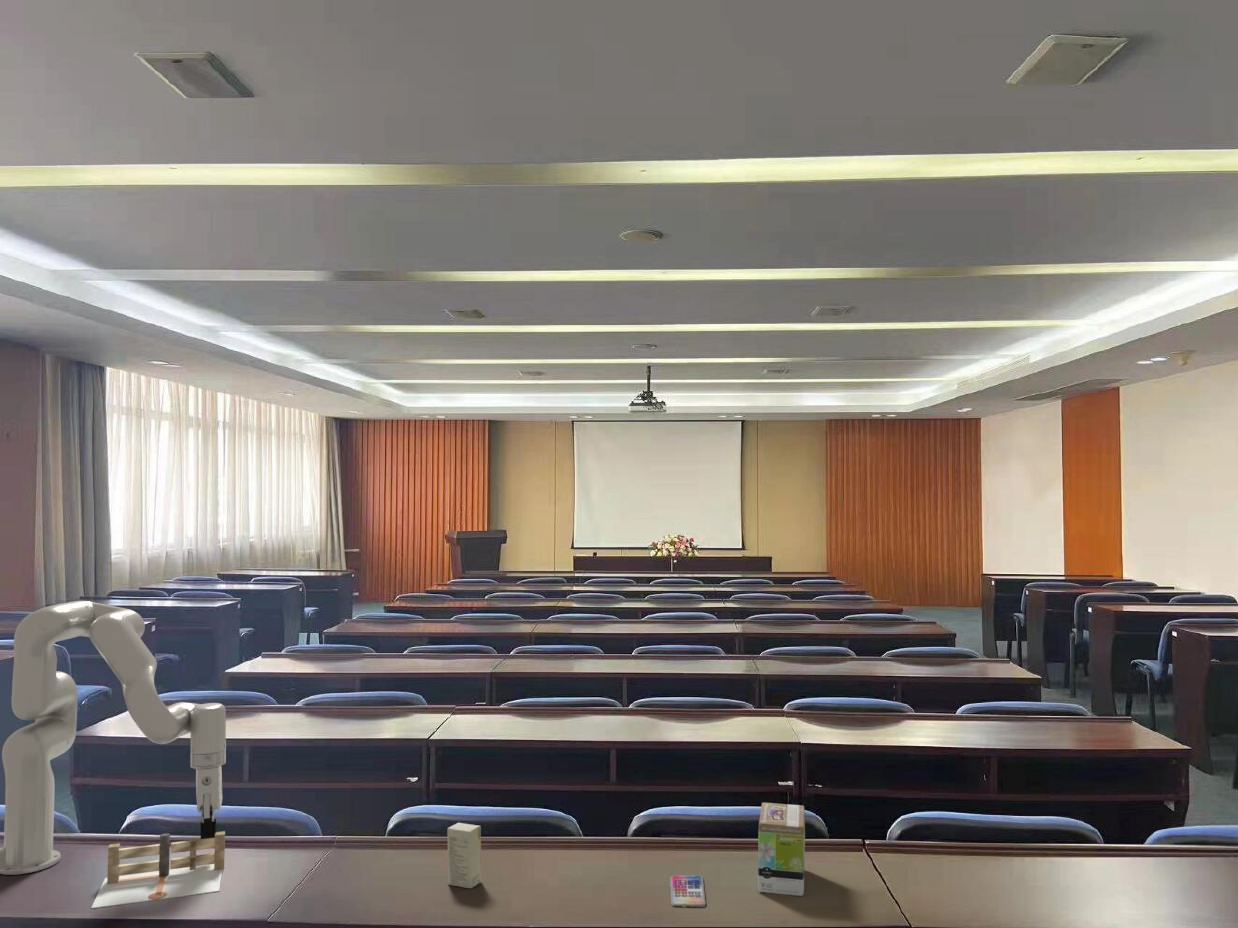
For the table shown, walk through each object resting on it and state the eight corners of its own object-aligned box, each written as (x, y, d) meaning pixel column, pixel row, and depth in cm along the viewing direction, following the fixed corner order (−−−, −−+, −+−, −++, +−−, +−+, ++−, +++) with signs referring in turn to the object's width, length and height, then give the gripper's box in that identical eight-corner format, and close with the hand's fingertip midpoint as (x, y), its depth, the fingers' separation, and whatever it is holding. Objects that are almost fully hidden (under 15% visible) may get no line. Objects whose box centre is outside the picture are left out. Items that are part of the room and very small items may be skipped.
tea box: (805, 897, 192) (804, 826, 192) (757, 893, 194) (756, 822, 194) (805, 869, 206) (804, 803, 207) (760, 865, 208) (760, 800, 209)
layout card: (91, 909, 186) (91, 907, 186) (105, 878, 201) (105, 877, 201) (219, 891, 194) (219, 890, 194) (223, 863, 209) (223, 862, 209)
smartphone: (670, 904, 187) (669, 874, 202) (670, 909, 187) (670, 879, 202) (706, 904, 187) (703, 874, 202) (706, 909, 187) (703, 879, 202)
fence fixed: (107, 885, 197) (108, 843, 198) (108, 881, 199) (109, 839, 200) (168, 877, 202) (169, 836, 202) (169, 873, 203) (170, 833, 204)
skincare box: (482, 882, 199) (482, 825, 200) (470, 889, 195) (471, 831, 196) (457, 877, 202) (458, 821, 202) (446, 884, 198) (446, 827, 198)
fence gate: (170, 874, 202) (170, 840, 202) (171, 871, 204) (171, 837, 204) (223, 867, 205) (224, 834, 206) (224, 864, 207) (225, 831, 208)
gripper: (224, 764, 206) (224, 846, 205) (227, 748, 220) (227, 825, 219) (187, 768, 203) (187, 851, 202) (193, 752, 217) (193, 829, 216)
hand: (208, 837), depth 211 cm, fingers closed
